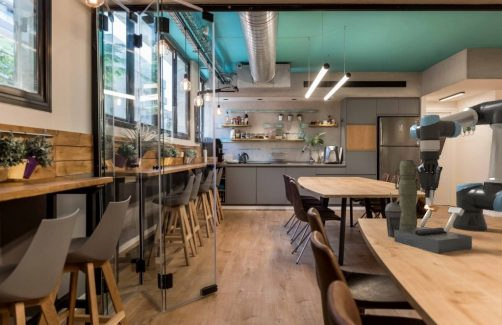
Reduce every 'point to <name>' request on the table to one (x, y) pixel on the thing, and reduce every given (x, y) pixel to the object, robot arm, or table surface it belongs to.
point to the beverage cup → (392, 217)
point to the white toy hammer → (453, 217)
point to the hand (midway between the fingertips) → (429, 205)
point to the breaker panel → (433, 240)
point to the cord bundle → (429, 231)
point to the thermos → (407, 193)
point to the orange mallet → (428, 213)
